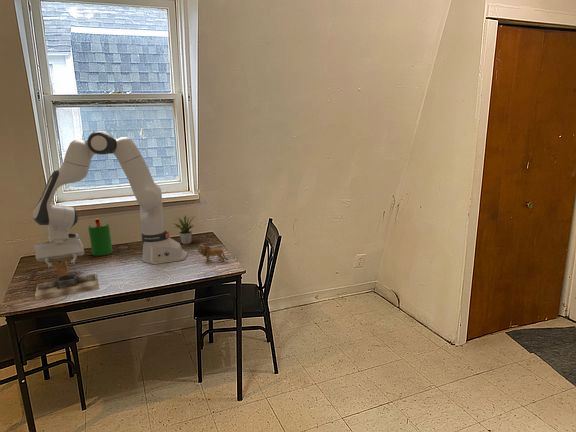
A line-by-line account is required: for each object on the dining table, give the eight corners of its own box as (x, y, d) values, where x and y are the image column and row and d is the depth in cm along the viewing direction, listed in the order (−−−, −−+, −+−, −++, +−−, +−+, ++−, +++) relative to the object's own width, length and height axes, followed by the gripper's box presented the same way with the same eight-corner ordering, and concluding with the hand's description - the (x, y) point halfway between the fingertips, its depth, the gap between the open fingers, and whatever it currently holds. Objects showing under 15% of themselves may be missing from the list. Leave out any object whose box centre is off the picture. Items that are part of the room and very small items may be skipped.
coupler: (68, 275, 201) (65, 259, 199) (68, 278, 197) (65, 261, 195) (59, 277, 199) (56, 260, 197) (58, 280, 195) (55, 263, 193)
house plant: (193, 236, 256) (190, 210, 252) (204, 241, 246) (202, 214, 242) (171, 242, 247) (168, 214, 243) (182, 247, 237) (179, 218, 233)
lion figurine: (198, 263, 211) (196, 246, 208) (199, 260, 216) (198, 243, 214) (227, 262, 211) (226, 245, 209) (228, 258, 216) (227, 242, 214)
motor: (111, 249, 237) (106, 214, 232) (114, 253, 230) (109, 217, 225) (91, 252, 232) (86, 217, 227) (93, 257, 225) (88, 220, 220)
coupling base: (97, 277, 197) (96, 267, 196) (98, 288, 184) (97, 277, 183) (38, 288, 187) (36, 277, 186) (35, 300, 175) (33, 289, 173)
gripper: (32, 240, 197) (34, 266, 190) (81, 233, 205) (84, 258, 199) (35, 246, 202) (37, 272, 195) (82, 240, 210) (86, 264, 204)
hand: (61, 265), depth 197 cm, fingers open, 8 cm apart
